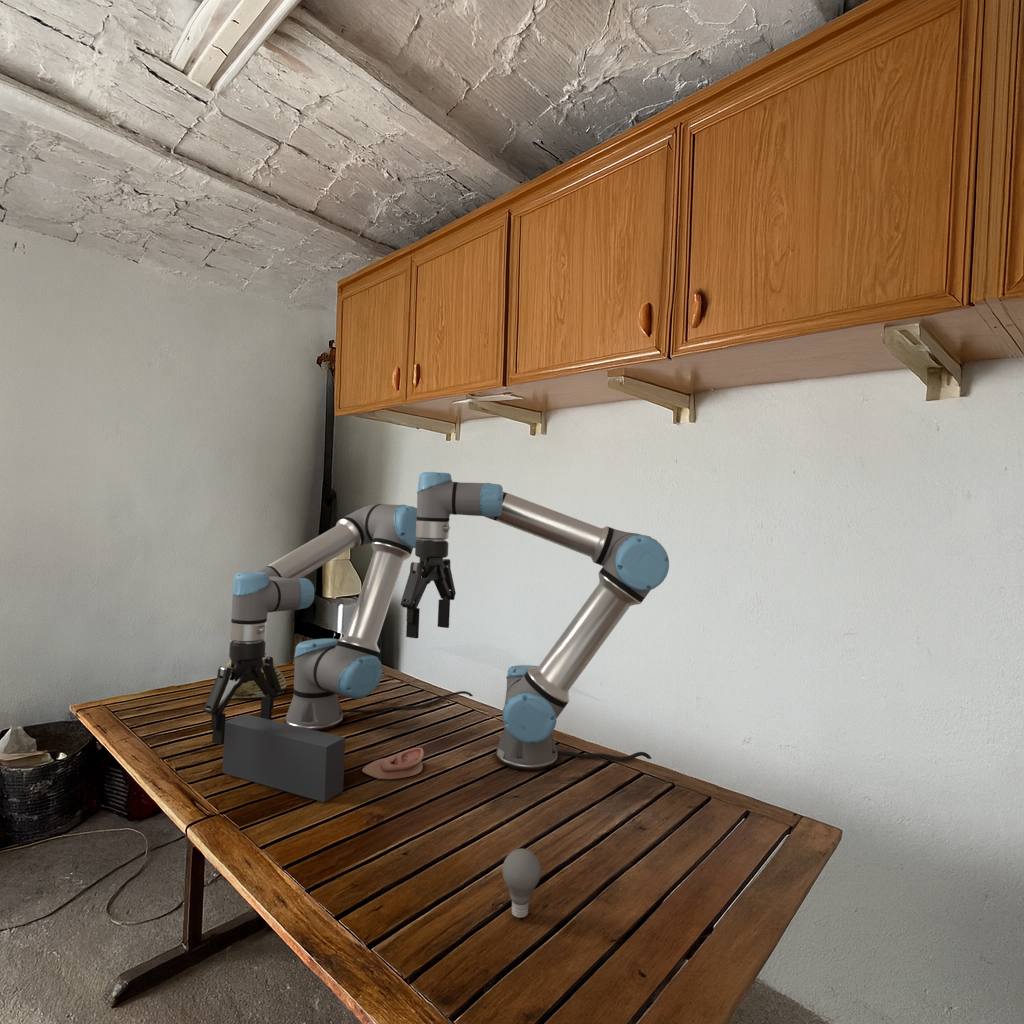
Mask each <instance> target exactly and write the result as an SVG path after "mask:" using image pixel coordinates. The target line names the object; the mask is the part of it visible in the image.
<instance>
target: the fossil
mask: <svg viewBox="0 0 1024 1024" xmlns="http://www.w3.org/2000/svg"><path fill="white" fill-rule="evenodd" d="M265 656H268V657H270V656H269V655H268V654H267V653H266V652H265ZM230 665H231V659H230V658H229V659H228V660H227V663H226V666H225V667H230ZM273 667H274V669H275V672H276V675H277V678H278V681H279V684H280V686H281V692H280V693H278V695H281V694H284V693H285V691H286V689H287V687H288V686H287V680H286V678H285V676H284V674H283V673H282V672H281V669H279V668H278V667H277V665H276V663H275V662H274V660H273ZM260 670H261V671H262V673H263V674H264V672H263V669H262V667H261V669H260ZM264 678H265V679H266V677H265V674H264ZM233 681H235V679H234V680H233ZM261 697H266V696H265V695H264V694H263V692H262V691H261V689H260V688H259V687H258V685H257V684H256V683H255V681H248V682H247V683H242V685H241V686H240V687H238V688H237V690H236V692H235V693H234V695H233V696H232V698H231V699H250V698H261Z"/></svg>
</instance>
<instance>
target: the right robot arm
mask: <svg viewBox="0 0 1024 1024" xmlns="http://www.w3.org/2000/svg"><path fill="white" fill-rule="evenodd" d="M416 494H417V495H416V508H417V520H416V537H417V538H418V540H417V541H416V544H415V548H414V555H415V557H417V558H419V560H418V562H414V561H413V562H410V567H409V573H408V576H407V580H406V583H405V587H404V589H403V590H404V591H403V594H402V597H401V600H400V606H401V607H402V608H406V628H405V629H406V630H405V637H406V638H410V639H419V637H420V636H419V633H420V608H419V607H418V606H419V604H420V602H421V600H422V599H423V598H422V597H423V595H424V593H425V591H426V588H427V587H428V585H429V584H430V583H431V582H433V583H434V585H435V588H436V590H437V593H438V595H439V597H440V599H438V607H437V628H444V629H449V628H450V615H451V614H450V613H451V612H450V611H451V601H455V598H456V594H457V593H456V588H455V584H454V583H455V582H454V578H453V574H452V569H451V559H450V558H448V556H449V544H450V543H449V542H448V541H447V540H448V539H449V538H450V537H449V535H450V528H451V527H450V516H451V515H454V516H457V515H460V516H471V517H473V516H475V517H484V518H487V519H489V520H492V521H495V522H497V523H501V524H503V525H506V526H508V527H511V528H514V529H516V530H519V531H521V532H524V533H527V534H529V535H532V536H534V537H537V538H540V539H542V540H544V541H548V542H549V543H553V544H555V545H558V546H561V547H563V548H566V549H567V550H568V549H569V550H571V551H574V552H576V553H579V554H581V555H584V556H587V557H589V558H590V559H591V561H592V563H594V564H596V565H599V566H601V567H602V568H601V569H600V570H599V571H598V574H597V575H598V579H599V582H598V584H597V586H595V589H594V590H593V591H592V592H591V594H590V595H589V596H588V598H587V599H586V601H585V602H584V603H583V605H582V606H581V607H580V608H579V610H578V612H576V614H575V615H574V617H573V618H572V620H571V621H570V623H569V624H568V625H567V627H566V628H565V629H564V631H563V632H562V633H561V635H560V636H559V638H558V639H557V641H556V642H555V644H554V645H553V646H552V648H551V649H550V650H549V652H548V653H547V654H546V656H545V657H544V658H543V660H542V661H541V663H540V664H539V665H531V664H520V665H519V664H518V665H517V664H516V665H512V666H510V667H509V668H508V669H507V674H506V677H505V678H506V690H505V691H506V692H505V699H504V706H503V708H502V714H501V715H502V720H503V725H504V728H503V730H502V733H501V736H500V739H499V742H498V743H497V747H496V754H495V755H496V760H497V762H499V763H500V764H502V765H503V766H505V767H507V768H510V769H513V770H518V771H529V772H531V771H533V772H535V771H542V770H547V769H550V768H552V767H553V766H555V765H556V764H557V762H558V756H565V757H574V758H582V759H587V758H589V759H590V758H603V759H610V760H614V761H620V762H621V761H622V762H623V761H624V762H625V761H630V760H633V759H635V758H638V757H645V758H646V759H648V760H651V759H653V758H652V757H651V755H650V754H649V753H647V752H645V751H638V752H635V753H632V754H629V755H626V756H619V755H612V754H607V753H599V752H597V753H594V752H593V753H578V752H570V751H564V750H563V751H562V750H558V749H557V745H556V740H555V737H554V733H553V732H554V730H555V728H556V725H557V719H558V718H559V716H560V715H561V714H562V712H563V711H564V710H565V708H566V707H567V705H568V704H569V702H570V693H569V692H570V689H571V688H572V686H574V685H575V682H576V681H577V680H578V678H579V677H580V676H581V674H582V673H583V672H584V670H585V669H586V667H587V666H588V664H590V662H591V661H592V659H593V658H594V657H595V655H596V654H597V652H598V651H599V649H600V648H601V647H602V646H603V644H604V643H605V642H606V640H607V639H608V637H609V636H610V635H611V633H612V632H613V630H614V629H615V628H616V626H617V625H618V624H619V622H621V620H622V618H623V617H624V615H625V614H626V613H627V612H628V610H629V609H630V607H632V606H636V605H641V604H642V602H644V600H645V599H646V597H647V596H648V595H649V593H650V592H651V591H652V590H654V589H656V588H658V587H659V586H660V585H661V584H662V583H664V581H665V579H667V576H668V573H669V571H670V570H669V569H670V559H669V555H668V552H667V550H666V549H665V547H664V546H663V545H662V543H660V542H659V541H658V540H657V539H655V538H653V537H652V536H650V535H647V534H646V535H645V534H640V533H638V532H637V533H636V532H628V531H624V530H620V529H616V528H613V527H611V526H607V525H606V526H604V527H599V526H596V525H593V524H590V523H588V522H585V521H583V520H580V519H578V518H575V517H572V516H570V515H567V514H565V513H561V512H559V511H557V510H554V509H551V508H548V507H545V506H543V505H541V504H537V503H535V502H533V501H530V500H527V499H524V498H522V497H519V496H516V495H515V494H512V493H509V492H505V491H504V488H503V486H502V485H501V484H500V483H492V482H458V481H453V479H452V474H451V473H449V472H437V471H423V472H421V473H420V474H419V475H418V485H417V491H416Z"/></svg>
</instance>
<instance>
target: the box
mask: <svg viewBox="0 0 1024 1024" xmlns="http://www.w3.org/2000/svg"><path fill="white" fill-rule="evenodd" d="M222 746H223V747H222V772H221V773H222V774H224V775H228V776H232V777H236V778H239V779H241V780H245V781H249V782H252V783H256V784H259V785H262V786H267V787H269V788H273V789H276V790H280V791H283V792H287V793H290V794H293V795H296V796H299V797H303V798H307V799H311V800H314V801H317V802H320V803H326V802H328V801H329V800H331V799H332V798H334V797H336V796H337V795H339V794H340V793H342V792H344V779H345V778H344V777H345V755H346V754H345V753H346V737H345V736H342V735H337V734H333V733H332V734H331V733H328V732H325V731H316V730H311V729H307V728H303V727H299V726H294V725H290V724H286V722H282V721H276V720H273V719H271V720H269V719H265V718H261V717H260V716H256V715H252V714H248V713H244V714H241V715H238V716H236V717H233V718H230V719H228V720H225V735H224V744H222Z"/></svg>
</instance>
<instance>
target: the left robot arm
mask: <svg viewBox="0 0 1024 1024" xmlns="http://www.w3.org/2000/svg"><path fill="white" fill-rule="evenodd" d="M416 520H417V506H413V505H406V504H388V503H387V504H386V503H374V504H373V503H372V504H369V505H366V506H363V507H361V508H359V509H357V510H355V511H353V512H351V513H349V514H347V515H345V516H344V517H342V518H340V519H339V520H338V521H336V524H335V526H333V527H331V528H330V529H328V530H327V531H325V532H323V533H322V534H319V535H318V536H316V537H314V538H313V539H311V540H308V542H306V543H304V544H302V545H300V546H299V547H297V548H295V549H294V550H292V551H290V552H289V553H287V554H285V555H283V556H282V557H279V558H278V559H277V560H274V561H273V562H271V563H269V564H268V565H266V566H263V568H261V569H259V570H257V571H240V572H238V573H236V574H235V575H234V578H233V584H232V591H231V594H232V597H231V621H230V635H229V639H230V640H231V641H230V642H229V653H228V657H229V659H231V665H230V667H227V666H222V665H221V666H219V667H218V669H217V673H216V674H217V675H216V679H215V681H214V683H213V686H212V688H211V690H210V693H209V695H208V697H207V700H206V701H205V705H204V707H203V709H202V711H203V713H206V714H210V715H211V716H210V718H211V719H210V728H211V730H212V735H211V737H212V738H211V742H212V743H213V744H217V745H221V746H223V744H224V735H225V721H226V718H227V717H226V713H224V711H225V710H226V708H227V706H228V705H229V703H230V701H231V700H232V699H233V698H232V696H233V695H234V693H235V692H236V690H237V688H238V687H240V686H241V685H242V683H247V682H248V681H255V683H256V684H257V685H258V687H259V688H260V689H261V691H262V692H263V694H264V695H265V697H260V699H261V700H260V716H259V717H261V718H265V719H269V720H272V715H273V714H272V713H273V710H274V706H275V705H274V703H275V699H277V698H279V697H278V696H279V694H278V693H280V692H281V686H280V684H279V681H278V678H277V675H276V672H275V669H274V667H273V661H274V658H273V657H272V656H269V655H268V656H269V657H268V656H265V653H266V641H265V639H266V638H267V622H268V613H276V612H285V611H286V612H287V611H299V610H302V609H308V608H309V607H310V606H312V604H313V602H314V600H315V592H316V591H315V587H314V584H313V583H312V581H311V579H308V578H305V577H306V576H308V575H310V574H311V573H313V572H314V571H316V570H318V569H319V568H321V567H323V566H324V565H326V564H327V563H329V562H330V561H332V560H334V559H336V558H337V557H339V556H340V555H342V554H343V553H346V551H349V550H350V549H351V550H356V549H358V548H360V547H362V546H364V545H369V544H370V547H371V549H372V550H373V553H372V557H371V559H370V563H369V565H368V568H367V571H366V574H365V577H364V581H363V583H362V586H361V589H360V591H359V595H358V598H357V601H356V604H355V606H354V609H353V612H352V616H351V618H350V621H349V624H348V627H347V630H346V633H345V635H344V636H341V637H340V638H338V639H337V638H331V637H329V638H317V639H316V638H315V639H308V640H304V641H300V642H299V643H298V644H297V645H296V646H295V650H294V651H295V652H294V655H293V658H294V672H293V695H292V696H293V697H292V699H291V702H290V704H289V707H288V709H287V713H286V715H285V723H286V724H290V725H294V726H299V727H303V728H307V729H311V730H316V731H320V732H325V731H329V730H332V729H335V728H337V727H339V726H340V725H342V723H343V722H344V714H343V713H361V714H369V713H379V712H383V711H391V710H409V709H412V710H413V709H419V708H425V707H428V706H430V705H433V704H436V703H438V702H440V701H441V700H443V699H445V698H449V697H453V696H457V695H463V694H464V695H467V696H469V697H473V696H474V695H473V694H472V693H471V692H469V691H465V690H460V691H456V692H452V693H448V694H444V695H441V696H439V697H438V698H437V699H434V700H432V701H429V702H425V703H422V704H417V705H400V706H399V705H397V706H388V707H381V708H375V709H342V706H341V702H340V699H339V695H340V696H341V697H343V698H346V699H352V700H360V699H365V698H367V697H368V696H369V695H371V694H372V693H373V692H374V691H375V690H376V688H377V687H378V686H379V685H380V682H381V680H382V677H383V667H382V666H383V665H382V662H381V660H380V659H379V656H380V652H381V650H380V648H379V646H378V641H379V638H380V635H381V631H382V628H383V626H384V622H385V620H386V616H387V613H388V611H389V607H390V603H391V601H392V598H393V595H394V592H395V588H396V585H397V583H398V579H399V577H400V576H399V575H400V573H401V570H402V567H403V563H404V561H405V560H408V559H410V558H411V556H412V553H413V550H414V549H415V544H416V541H417V540H418V538H417V537H416ZM261 667H262V669H263V672H264V674H265V677H266V679H265V678H264V674H263V673H262V671H261V670H260V669H261ZM234 679H235V681H233V680H234ZM280 694H281V693H280Z"/></svg>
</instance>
